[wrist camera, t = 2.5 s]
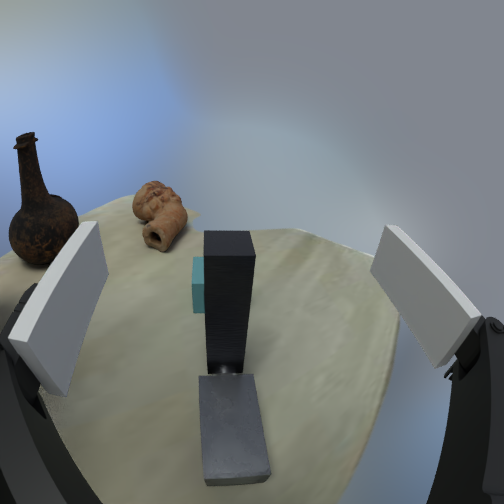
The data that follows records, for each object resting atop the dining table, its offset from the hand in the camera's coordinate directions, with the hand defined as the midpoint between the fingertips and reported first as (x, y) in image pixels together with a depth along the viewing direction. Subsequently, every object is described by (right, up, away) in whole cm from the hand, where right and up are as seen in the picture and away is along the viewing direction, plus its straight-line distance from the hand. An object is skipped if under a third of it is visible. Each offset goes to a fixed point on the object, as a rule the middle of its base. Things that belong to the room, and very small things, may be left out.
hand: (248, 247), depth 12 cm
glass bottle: (-47, -1, +40) cm, 62 cm away
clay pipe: (-22, +5, +53) cm, 57 cm away
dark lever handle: (-3, -17, +18) cm, 25 cm away
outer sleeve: (-2, -21, +14) cm, 26 cm away
